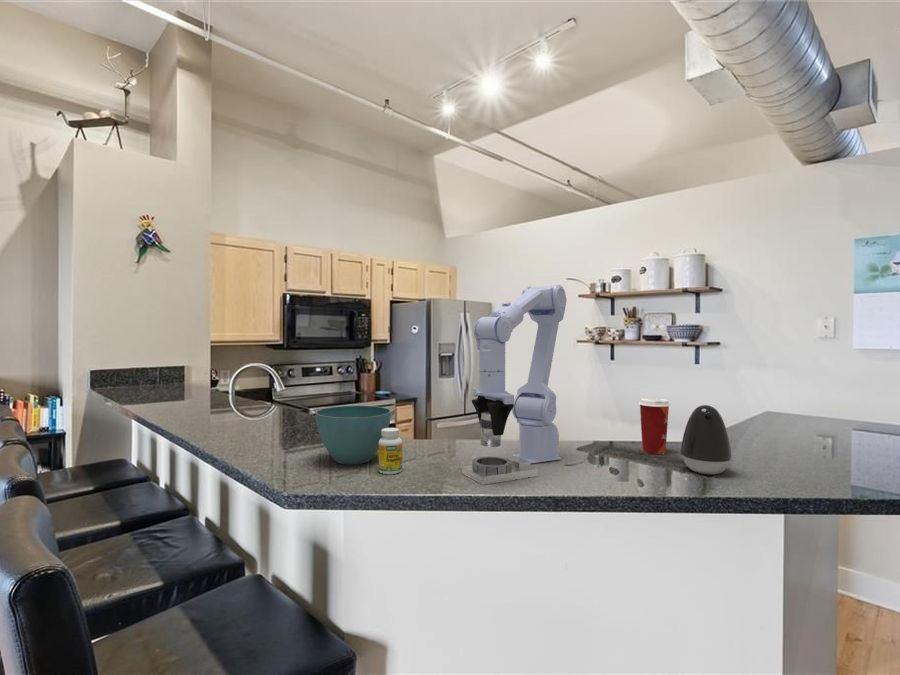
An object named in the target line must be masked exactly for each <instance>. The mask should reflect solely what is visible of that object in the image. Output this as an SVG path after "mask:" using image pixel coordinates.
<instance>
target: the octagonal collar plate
mask: <svg viewBox="0 0 900 675" xmlns="http://www.w3.org/2000/svg"><path fill="white" fill-rule="evenodd" d="M461 469H462V470H461V471H462V473H463V475H464V476H466V477H468V478H469V479H472V480H473V481H475V482H477V483H478V484H480V485H482V486H483V485H489V484H496V483H503V482H509V481H514V480H515V479H517V480H522V478H523V479H529V478H528V477H530V478H535V477H538V470H539V469H538V468H537V467H534V466H532V465H531V463H530V461H528V460H525V459H523V458H520V457H518V456H517V457H513V456H512V457H507V458H506V457H502V456H480V457H476V458H474V459H472V464H469V465H463V466H462V468H461ZM515 481H516V480H515Z"/></svg>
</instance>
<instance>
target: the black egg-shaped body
mask: <svg viewBox="0 0 900 675" xmlns="http://www.w3.org/2000/svg"><path fill="white" fill-rule="evenodd" d="M680 446H681V447H680V454H681V455H682V460H683V462H684V464H685V465H686V467H688V469H690V470H691V471H693V472H695V473H697V472H698V474H702V475H708V476H709V475H718V474H721V473H723V472H724V471H725V470H727V468H728V466H729V464H730V461H731V460H732V449H731V442H730V437H729V435H728V431H727V428H726V424H725V421H724V419H723V418H722V415H721V414H720V412H719V411H718V410H717V409H716V407H715V406H711V405H708V404H702V405H699V406H697V407H696V408H695V409H694V410H693V411H692V412H691V414H690V416H689V418H688V421H687V422H686V426H685V429H684V432H683V436H682V440H681V445H680Z"/></svg>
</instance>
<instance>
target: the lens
mask: <svg viewBox="0 0 900 675" xmlns="http://www.w3.org/2000/svg"><path fill="white" fill-rule="evenodd" d="M479 427H480V445H481V446H483V447H487V448H496V447H501V444H502V443H501V440H502V435H498V436H494V435H493V431H492V419H491V415H490V411H489V410H487V411H483V412H481V420H480V423H479Z"/></svg>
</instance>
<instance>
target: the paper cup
mask: <svg viewBox="0 0 900 675" xmlns="http://www.w3.org/2000/svg"><path fill="white" fill-rule="evenodd" d="M638 405H639V409H640V410H639V412H640V430H641V431H640V432H641V448H642V452H643V453H644V452H645V454H649V455H654V454H662V455H664V454H663V453H665V454H666V450H667V440H668V439H667V438H668V425H669V424H668V423H669V421H668V420H669V412H670V410H669V408H670V406H671V405H670V403H669V399H665V398H658V397H657V398H656V397H642V398H640V400H639V402H638Z"/></svg>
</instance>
